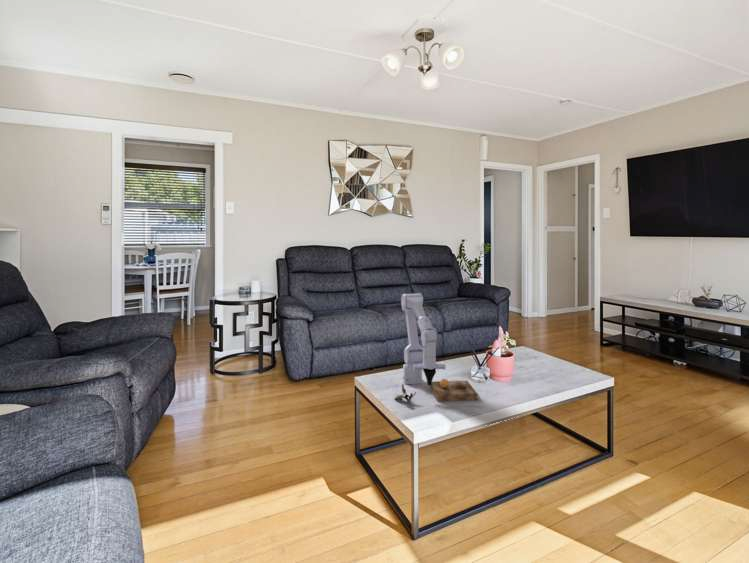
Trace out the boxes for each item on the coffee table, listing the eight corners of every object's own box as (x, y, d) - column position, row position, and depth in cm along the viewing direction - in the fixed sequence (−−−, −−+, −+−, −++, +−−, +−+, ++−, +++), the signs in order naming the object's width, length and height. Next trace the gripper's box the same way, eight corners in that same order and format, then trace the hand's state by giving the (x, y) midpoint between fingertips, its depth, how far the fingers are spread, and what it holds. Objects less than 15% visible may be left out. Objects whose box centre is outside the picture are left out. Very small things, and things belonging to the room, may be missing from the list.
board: (436, 401, 177) (437, 394, 176) (430, 387, 193) (430, 381, 192) (477, 400, 178) (477, 393, 177) (467, 386, 194) (467, 380, 193)
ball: (440, 389, 183) (440, 380, 182) (438, 386, 187) (439, 377, 186) (449, 389, 183) (449, 380, 182) (447, 385, 187) (447, 377, 186)
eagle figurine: (418, 397, 178) (404, 388, 184) (414, 388, 174) (399, 379, 180) (407, 410, 175) (393, 400, 181) (403, 400, 171) (388, 391, 177)
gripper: (414, 358, 178) (414, 388, 180) (447, 357, 179) (446, 387, 180) (412, 354, 185) (412, 382, 187) (443, 353, 186) (443, 381, 187)
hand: (429, 384), depth 184 cm, fingers closed
